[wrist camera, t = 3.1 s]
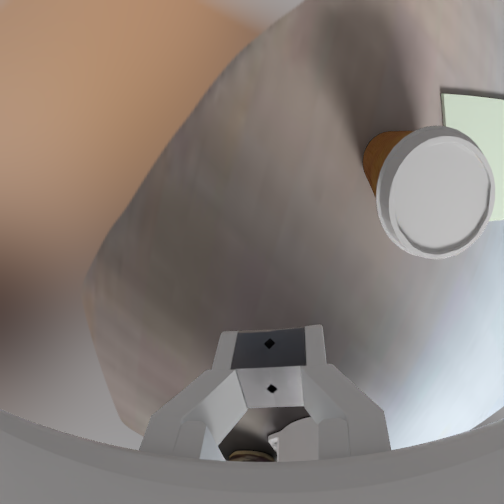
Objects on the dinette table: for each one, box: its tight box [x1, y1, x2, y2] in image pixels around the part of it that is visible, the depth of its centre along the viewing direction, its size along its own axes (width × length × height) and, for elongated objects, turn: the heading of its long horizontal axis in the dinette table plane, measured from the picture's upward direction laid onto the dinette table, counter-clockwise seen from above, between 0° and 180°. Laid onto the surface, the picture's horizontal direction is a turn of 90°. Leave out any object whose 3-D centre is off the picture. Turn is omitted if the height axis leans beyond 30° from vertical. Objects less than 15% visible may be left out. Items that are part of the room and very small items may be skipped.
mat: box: [441, 94, 504, 221], centre depth 26 cm, size 14×16×1 cm
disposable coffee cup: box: [363, 126, 495, 259], centre depth 23 cm, size 10×10×12 cm
